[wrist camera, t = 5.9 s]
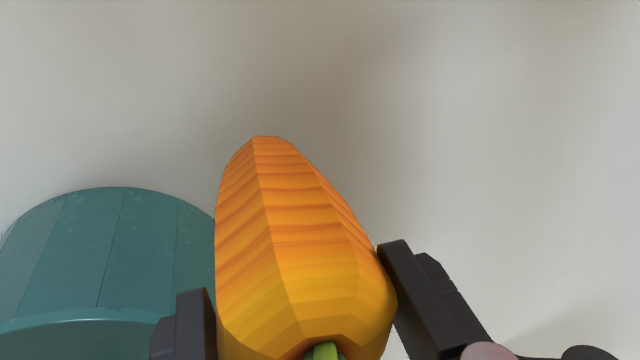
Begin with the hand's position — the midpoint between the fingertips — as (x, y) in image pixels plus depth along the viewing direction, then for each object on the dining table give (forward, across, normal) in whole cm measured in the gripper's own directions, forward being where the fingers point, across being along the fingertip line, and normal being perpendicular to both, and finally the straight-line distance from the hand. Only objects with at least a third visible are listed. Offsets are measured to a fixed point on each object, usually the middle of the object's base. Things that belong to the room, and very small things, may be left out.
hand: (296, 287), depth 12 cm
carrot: (+9, 0, 0) cm, 9 cm away
